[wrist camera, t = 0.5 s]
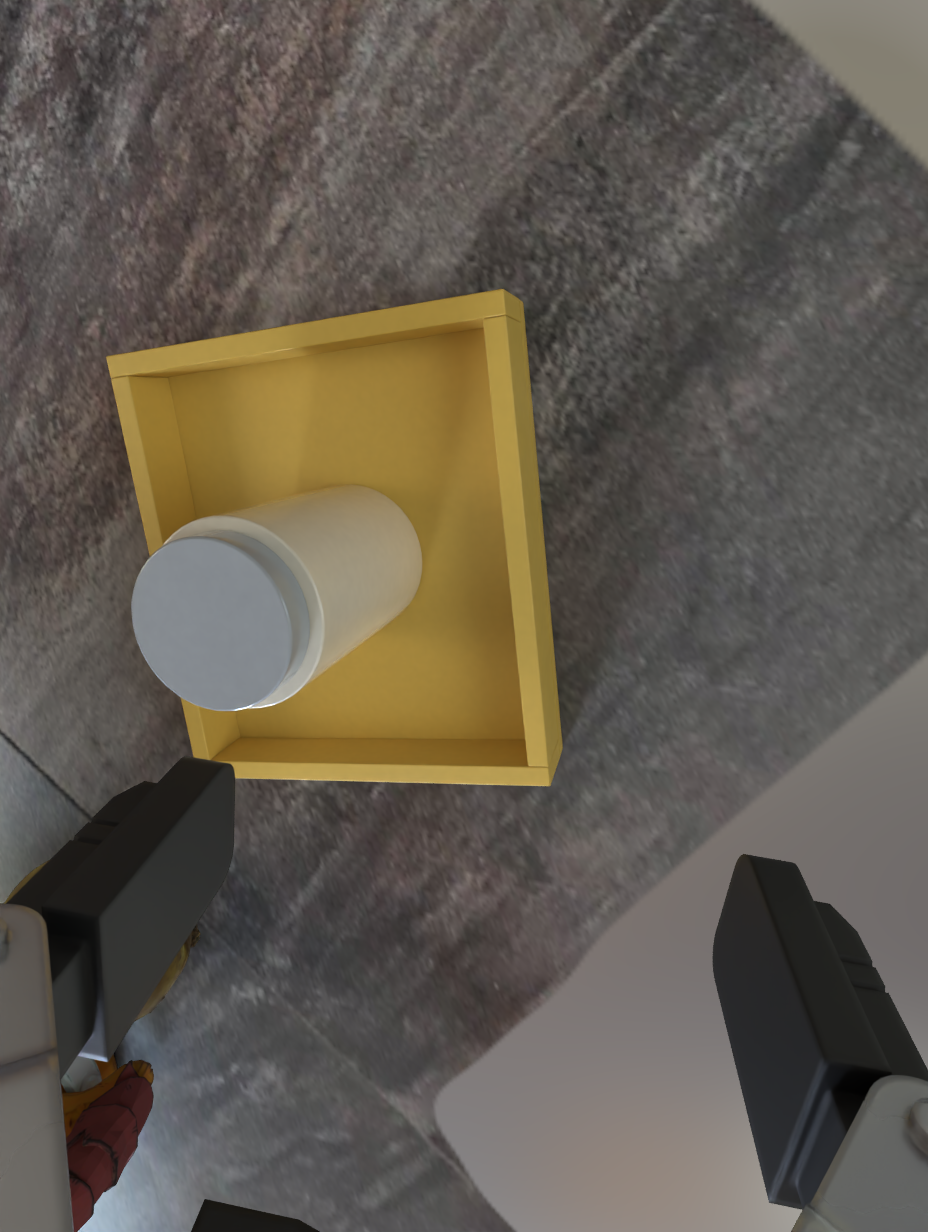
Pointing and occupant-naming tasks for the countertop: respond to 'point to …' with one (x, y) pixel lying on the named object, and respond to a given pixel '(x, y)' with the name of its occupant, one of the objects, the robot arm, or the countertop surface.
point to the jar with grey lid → (273, 594)
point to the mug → (102, 1125)
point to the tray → (416, 482)
